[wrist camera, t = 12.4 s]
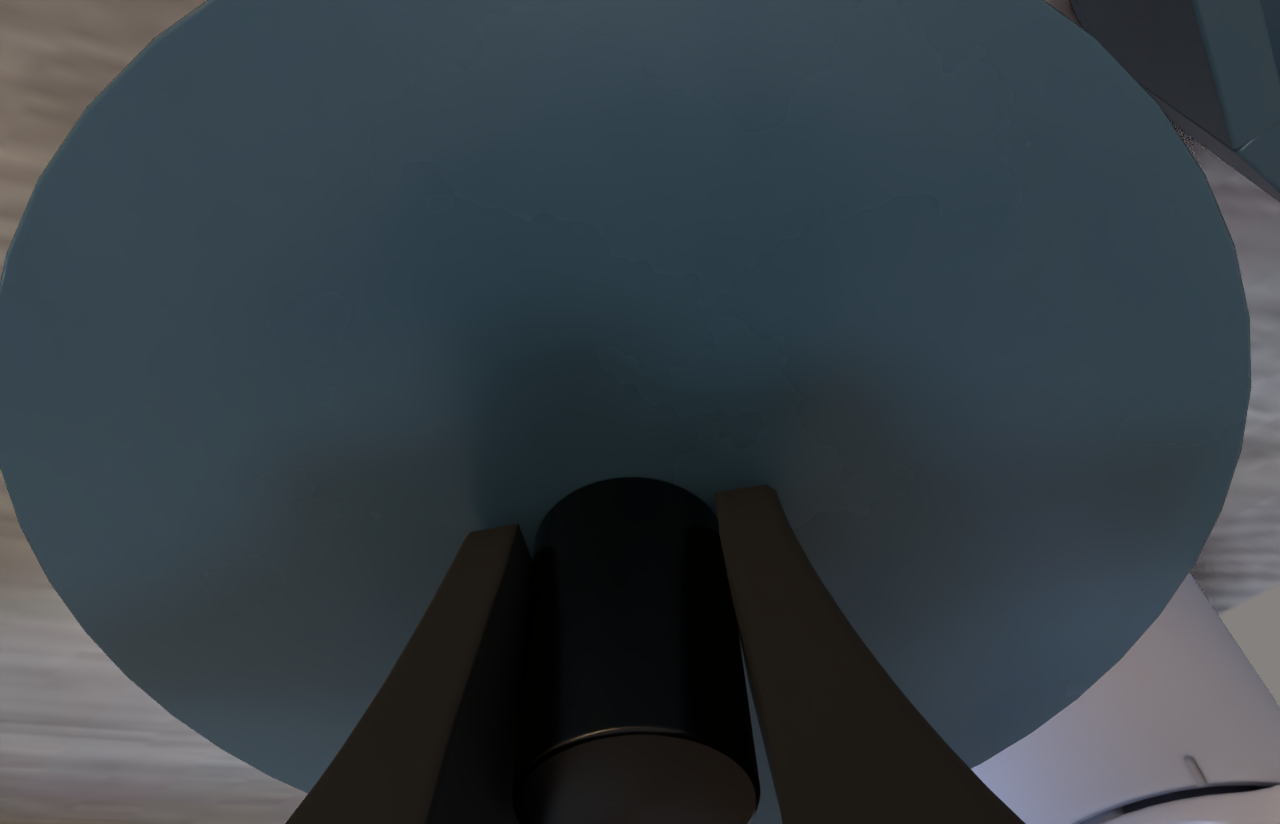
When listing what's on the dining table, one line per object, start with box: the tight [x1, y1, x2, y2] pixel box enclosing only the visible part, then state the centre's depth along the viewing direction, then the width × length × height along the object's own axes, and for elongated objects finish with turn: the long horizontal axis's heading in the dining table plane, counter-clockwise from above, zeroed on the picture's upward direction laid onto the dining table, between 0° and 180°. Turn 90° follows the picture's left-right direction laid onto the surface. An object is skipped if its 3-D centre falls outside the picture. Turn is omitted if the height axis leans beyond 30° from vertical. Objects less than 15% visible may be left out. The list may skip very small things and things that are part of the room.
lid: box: [0, 0, 1251, 824], centre depth 11 cm, size 15×15×5 cm
